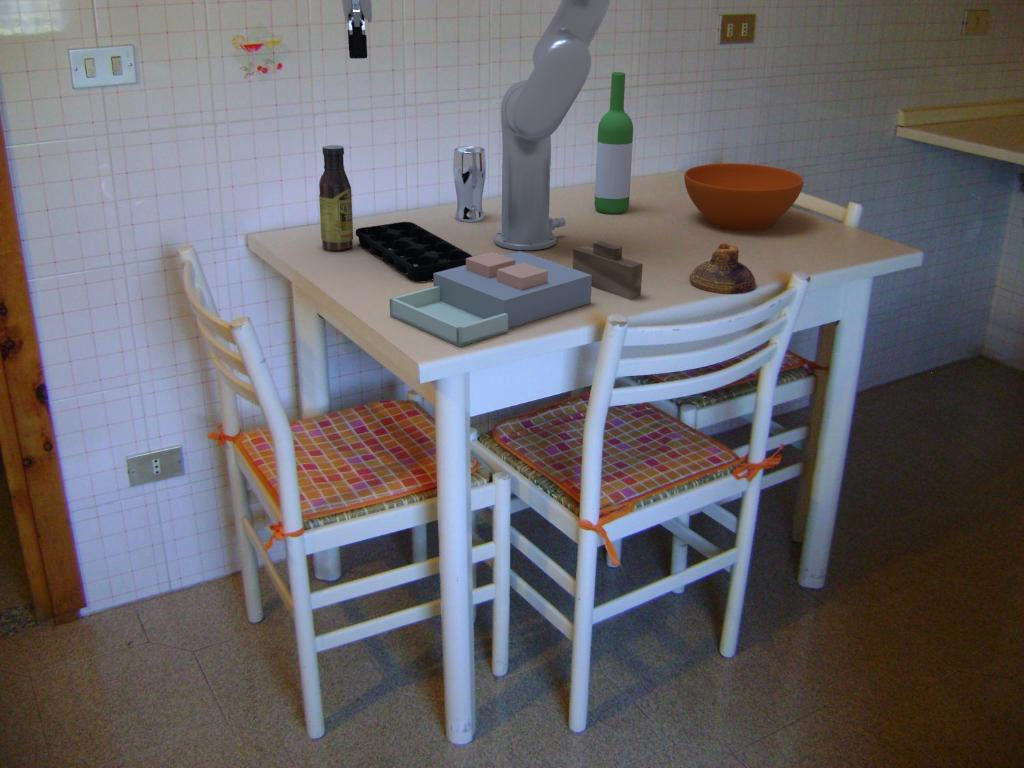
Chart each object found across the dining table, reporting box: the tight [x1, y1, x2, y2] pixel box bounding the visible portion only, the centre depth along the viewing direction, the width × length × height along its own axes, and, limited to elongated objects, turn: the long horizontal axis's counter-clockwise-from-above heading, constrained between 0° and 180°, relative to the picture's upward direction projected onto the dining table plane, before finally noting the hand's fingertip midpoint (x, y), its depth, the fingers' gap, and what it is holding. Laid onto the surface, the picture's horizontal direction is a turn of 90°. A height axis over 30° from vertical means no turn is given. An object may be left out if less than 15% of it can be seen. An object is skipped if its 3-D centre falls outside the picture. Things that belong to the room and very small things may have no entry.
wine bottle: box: [594, 71, 634, 215], centre depth 233 cm, size 8×8×30 cm
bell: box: [689, 242, 757, 295], centre depth 192 cm, size 12×12×7 cm
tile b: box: [497, 263, 548, 290], centre depth 177 cm, size 6×6×2 cm
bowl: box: [683, 162, 805, 231], centre depth 230 cm, size 25×25×10 cm
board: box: [433, 250, 592, 330], centre depth 182 cm, size 20×18×5 cm
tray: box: [389, 286, 509, 348], centre depth 172 cm, size 10×18×3 cm, turn 42°
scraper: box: [572, 240, 644, 300], centre depth 189 cm, size 3×14×8 cm, turn 42°
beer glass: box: [452, 145, 487, 223], centre depth 228 cm, size 7×7×15 cm
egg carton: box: [355, 221, 473, 283], centre depth 204 cm, size 18×30×4 cm, turn 42°
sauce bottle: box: [318, 144, 354, 252], centre depth 207 cm, size 6×6×20 cm
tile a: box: [466, 251, 515, 278], centre depth 182 cm, size 6×6×2 cm
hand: (357, 54), depth 196 cm, fingers open, 9 cm apart
